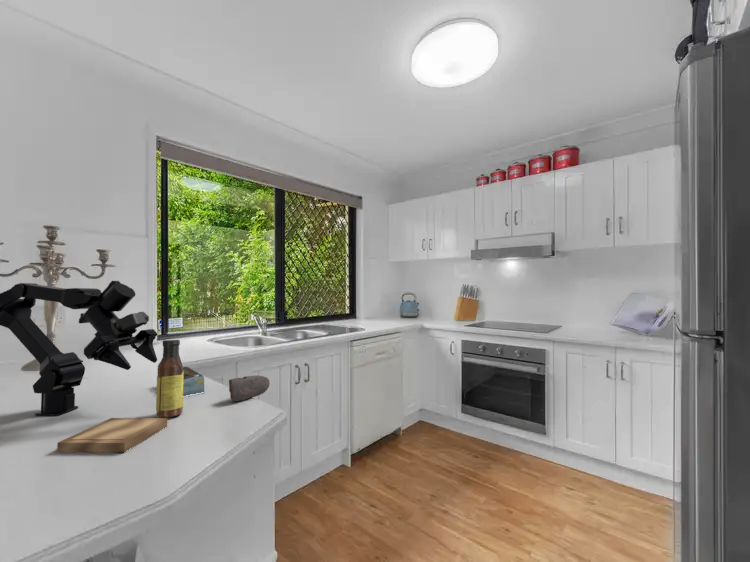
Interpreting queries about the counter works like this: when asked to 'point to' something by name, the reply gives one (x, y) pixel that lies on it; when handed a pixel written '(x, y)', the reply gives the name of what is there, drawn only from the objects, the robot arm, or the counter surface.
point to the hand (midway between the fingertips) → (143, 364)
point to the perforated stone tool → (247, 387)
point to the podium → (113, 435)
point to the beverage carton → (192, 382)
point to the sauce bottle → (170, 381)
